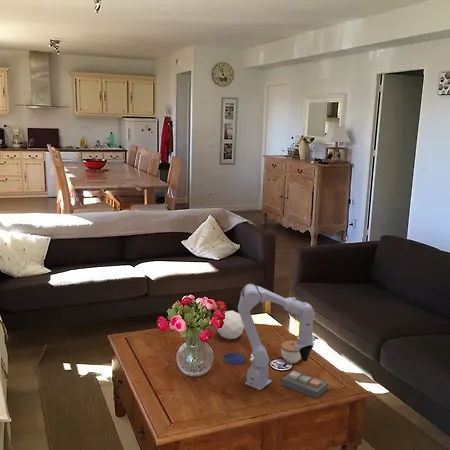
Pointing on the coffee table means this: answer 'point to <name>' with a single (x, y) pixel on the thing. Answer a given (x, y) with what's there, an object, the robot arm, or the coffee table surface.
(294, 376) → the ivory key
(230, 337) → the geometric shape
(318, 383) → the pink block
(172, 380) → the coffee table surface
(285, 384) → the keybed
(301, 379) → the sage key
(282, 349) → the lidded jar
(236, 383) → the coffee table surface
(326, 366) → the coffee table surface
